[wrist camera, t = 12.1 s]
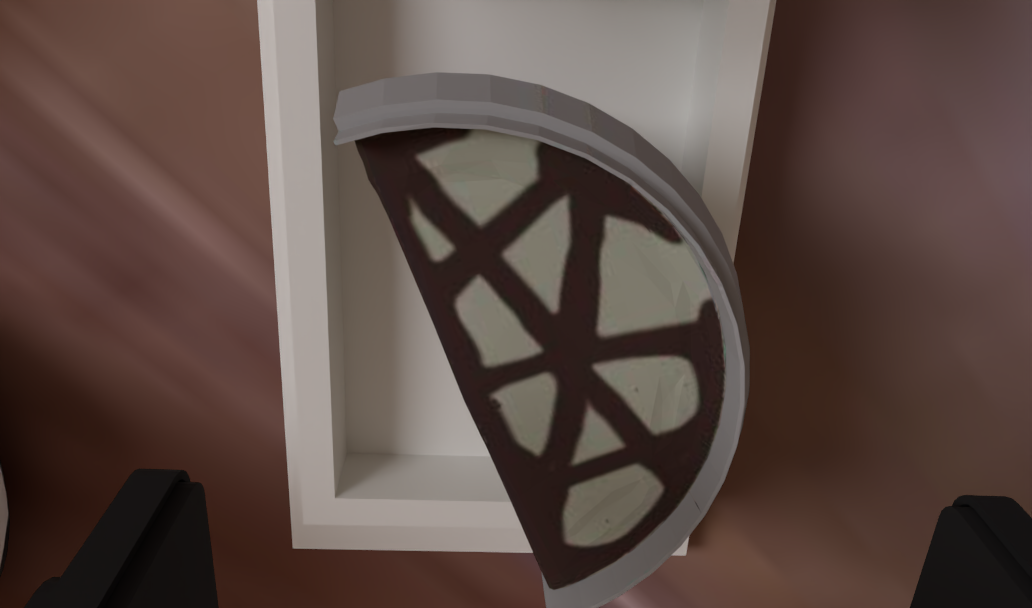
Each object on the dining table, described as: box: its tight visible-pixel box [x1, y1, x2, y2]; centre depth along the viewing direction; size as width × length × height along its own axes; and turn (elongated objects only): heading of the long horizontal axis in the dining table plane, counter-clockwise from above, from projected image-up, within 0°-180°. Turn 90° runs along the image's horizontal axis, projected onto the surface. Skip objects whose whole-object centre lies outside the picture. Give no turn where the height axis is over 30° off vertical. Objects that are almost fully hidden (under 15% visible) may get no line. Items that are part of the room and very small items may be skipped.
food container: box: [333, 72, 750, 608], centre depth 20 cm, size 12×6×10 cm, turn 19°
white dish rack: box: [257, 0, 776, 555], centre depth 21 cm, size 14×24×12 cm, turn 177°
